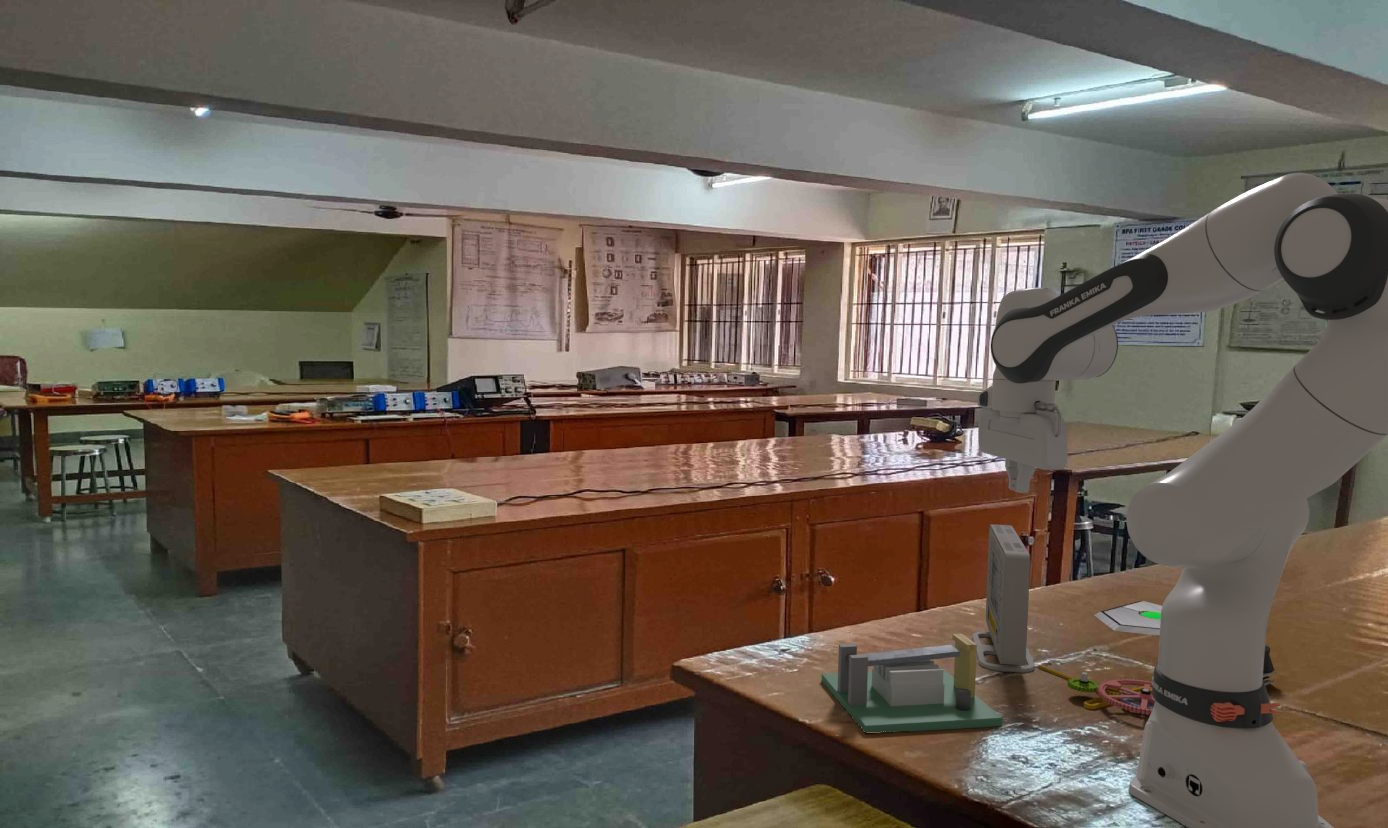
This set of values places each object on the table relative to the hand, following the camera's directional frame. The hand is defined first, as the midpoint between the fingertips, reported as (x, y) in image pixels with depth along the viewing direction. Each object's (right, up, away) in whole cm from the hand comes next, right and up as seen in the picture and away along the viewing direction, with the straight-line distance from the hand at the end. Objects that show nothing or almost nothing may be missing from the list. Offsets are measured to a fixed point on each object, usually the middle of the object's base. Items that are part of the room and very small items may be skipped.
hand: (1018, 491), depth 144 cm
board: (-17, -31, -1) cm, 35 cm away
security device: (+38, -29, +41) cm, 62 cm away
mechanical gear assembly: (+16, -32, +1) cm, 36 cm away
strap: (-18, -25, -2) cm, 30 cm away
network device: (+5, -30, +22) cm, 37 cm away
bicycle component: (+35, -32, +9) cm, 48 cm away
